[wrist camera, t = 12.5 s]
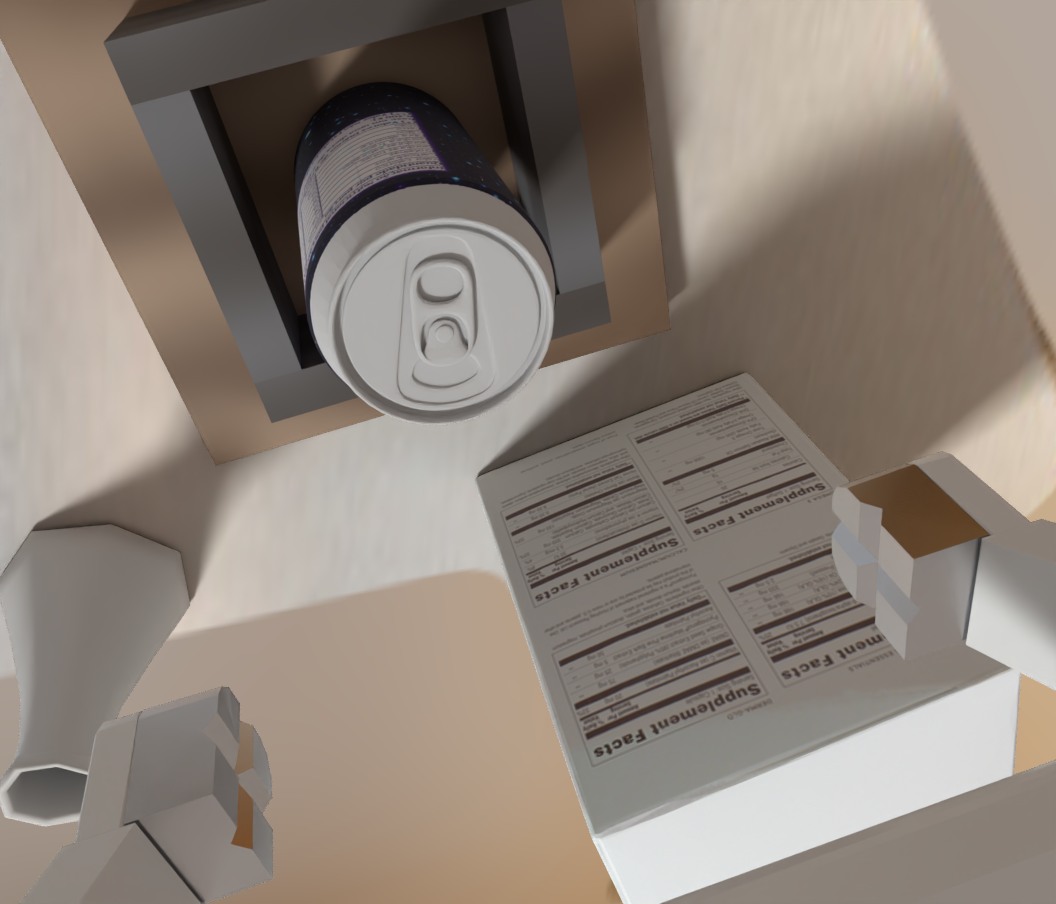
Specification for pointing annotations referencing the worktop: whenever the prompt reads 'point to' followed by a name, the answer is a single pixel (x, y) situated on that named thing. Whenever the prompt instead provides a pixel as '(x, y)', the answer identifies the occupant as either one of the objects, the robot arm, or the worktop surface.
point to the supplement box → (724, 647)
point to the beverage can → (417, 259)
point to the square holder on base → (269, 153)
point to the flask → (79, 652)
